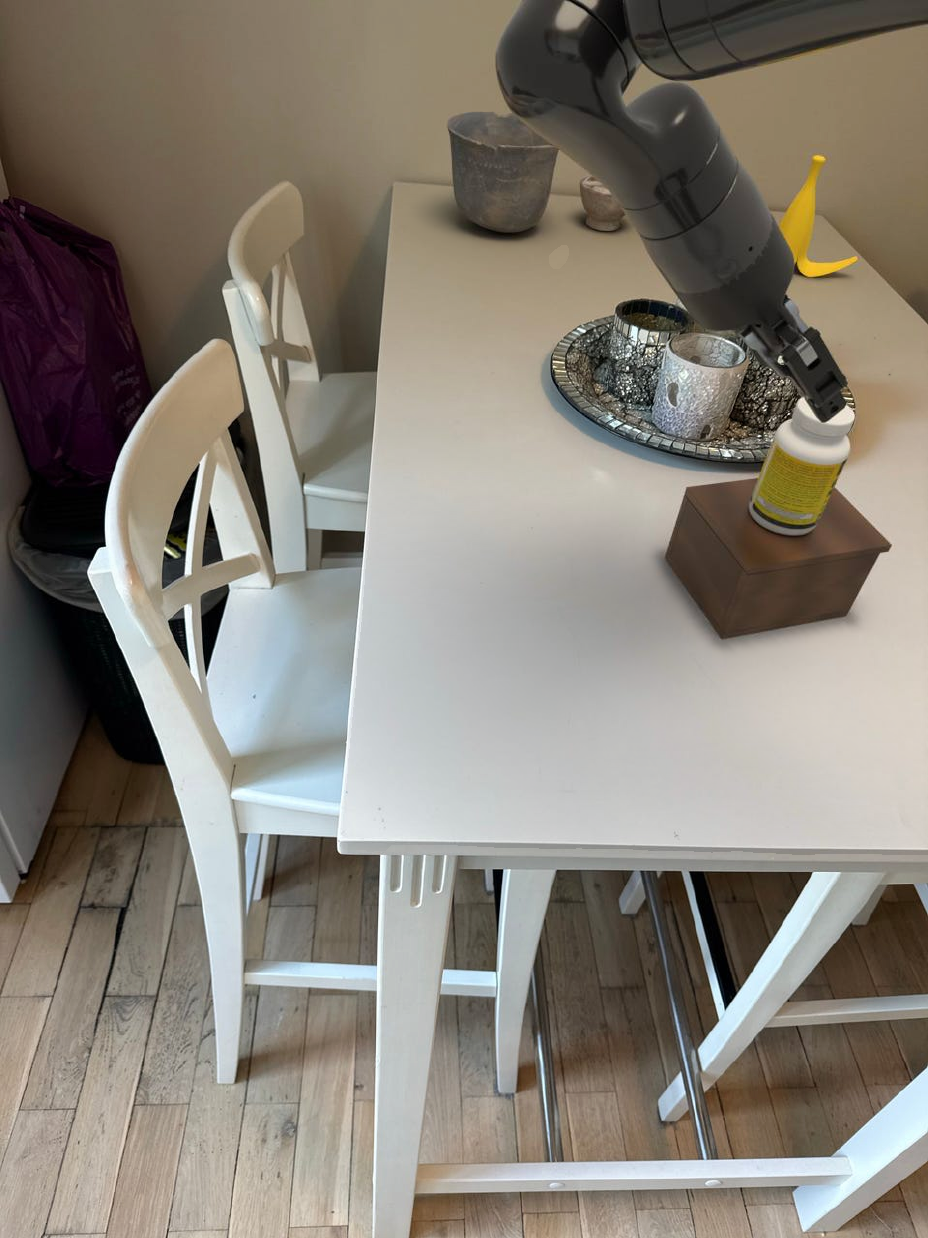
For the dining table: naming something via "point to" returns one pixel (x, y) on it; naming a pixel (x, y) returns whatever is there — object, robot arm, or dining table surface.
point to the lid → (767, 550)
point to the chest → (758, 582)
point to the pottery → (599, 205)
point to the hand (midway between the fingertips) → (801, 383)
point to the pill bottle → (801, 471)
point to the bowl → (500, 170)
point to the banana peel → (807, 226)
